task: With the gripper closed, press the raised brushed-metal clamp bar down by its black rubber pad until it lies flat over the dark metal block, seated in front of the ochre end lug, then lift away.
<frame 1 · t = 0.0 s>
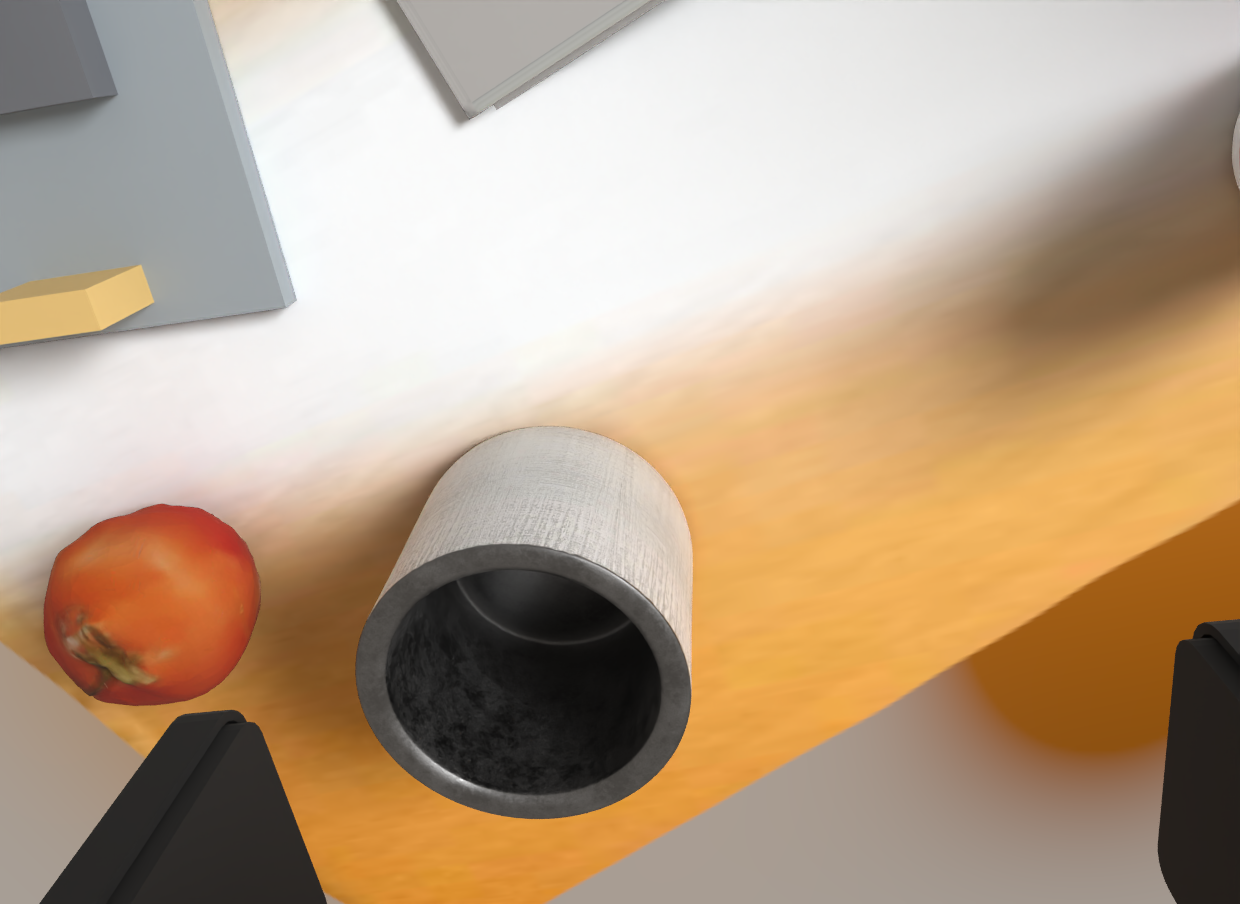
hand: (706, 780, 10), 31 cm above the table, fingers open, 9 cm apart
tomato: (195, 560, 47), on the table
clamp base: (5, 13, 37), on the table
planter: (558, 539, 45), on the table
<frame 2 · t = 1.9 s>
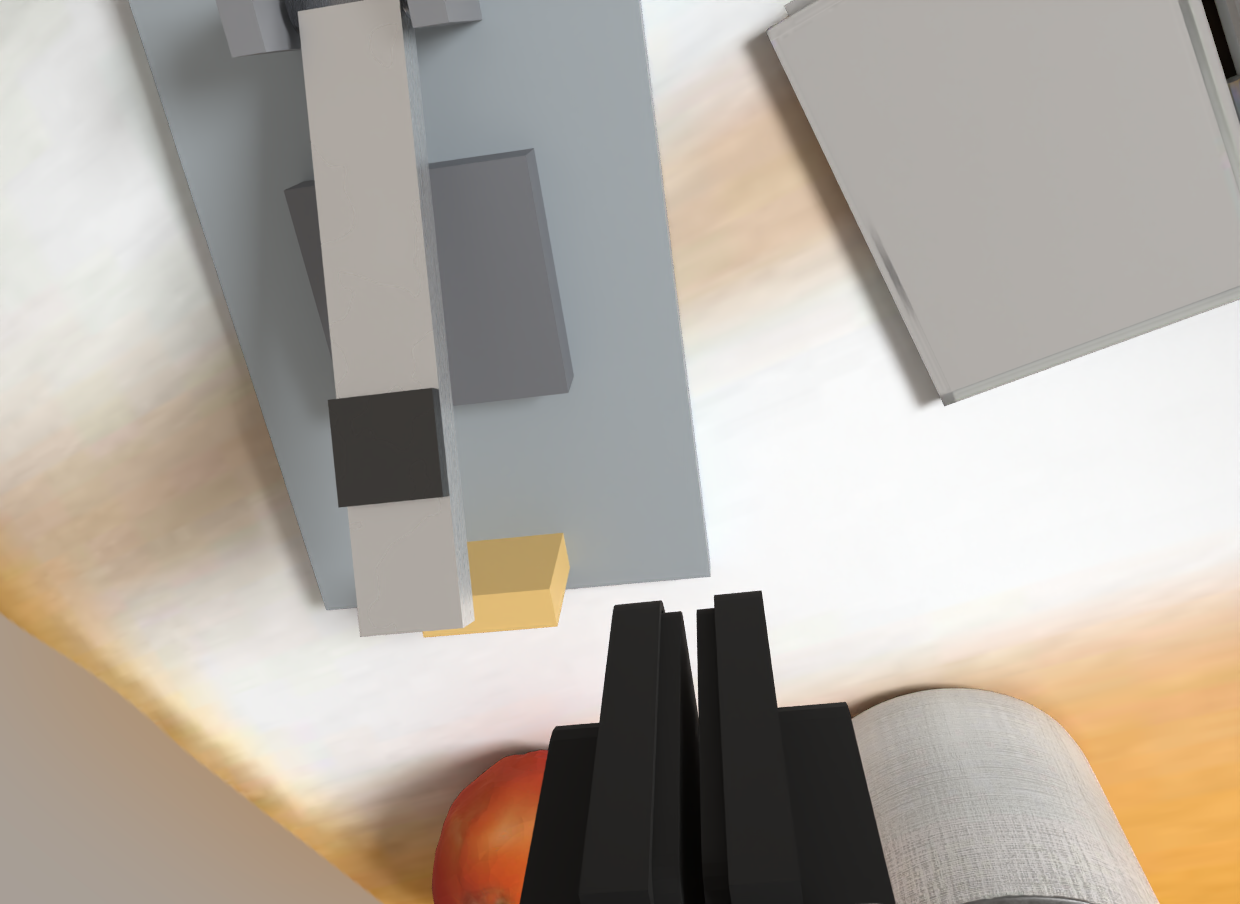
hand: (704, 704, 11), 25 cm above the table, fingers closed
tomato: (546, 791, 45), on the table
clamp base: (453, 286, 35), on the table
gadget: (1182, 46, 31), on the table
planter: (937, 784, 43), on the table
clamp bar: (382, 299, 27), point 8 cm above the table, hinge at 25.0°
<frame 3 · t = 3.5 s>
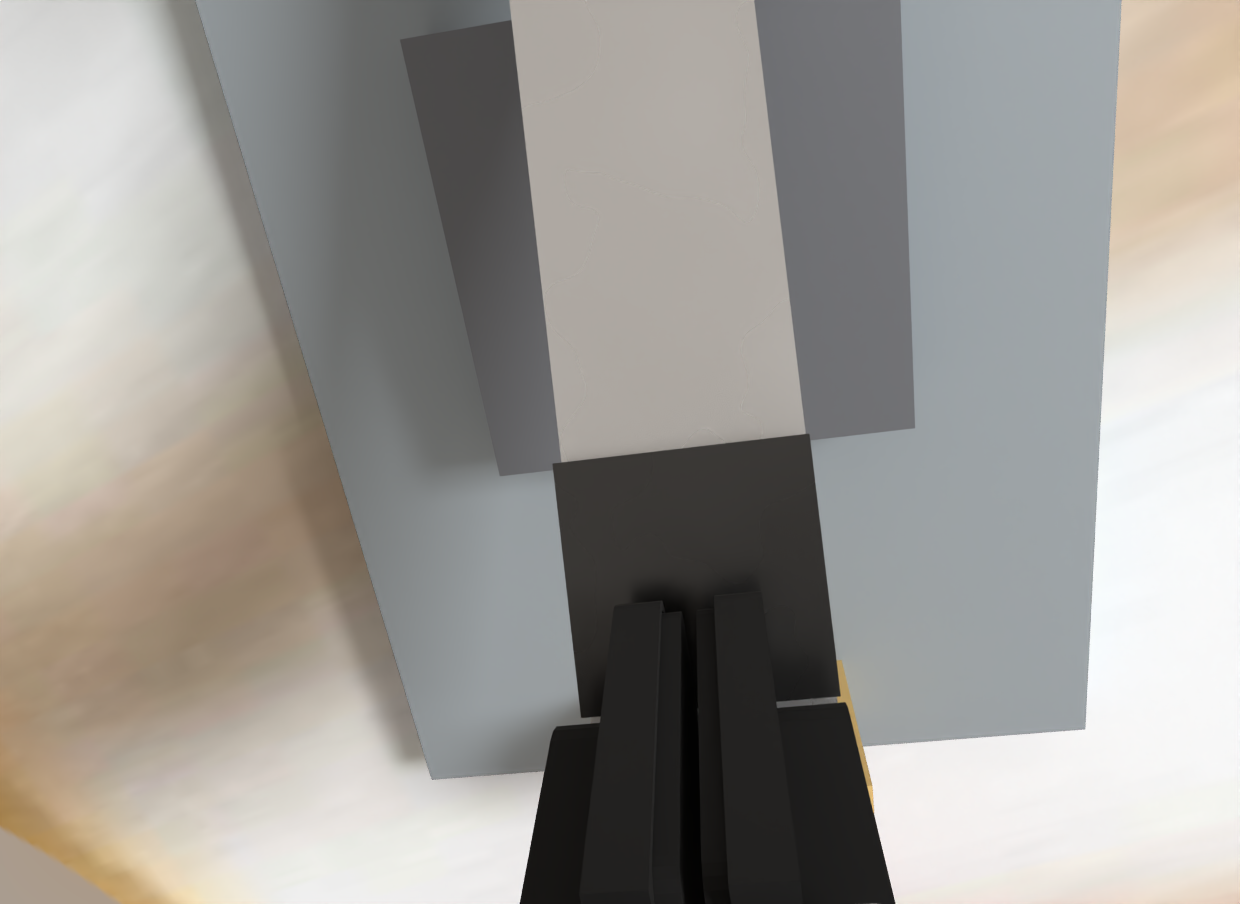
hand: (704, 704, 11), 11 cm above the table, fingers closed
clamp base: (679, 240, 20), on the table
clamp bar: (658, 233, 12), point 8 cm above the table, hinge at 25.0°, touching gripper
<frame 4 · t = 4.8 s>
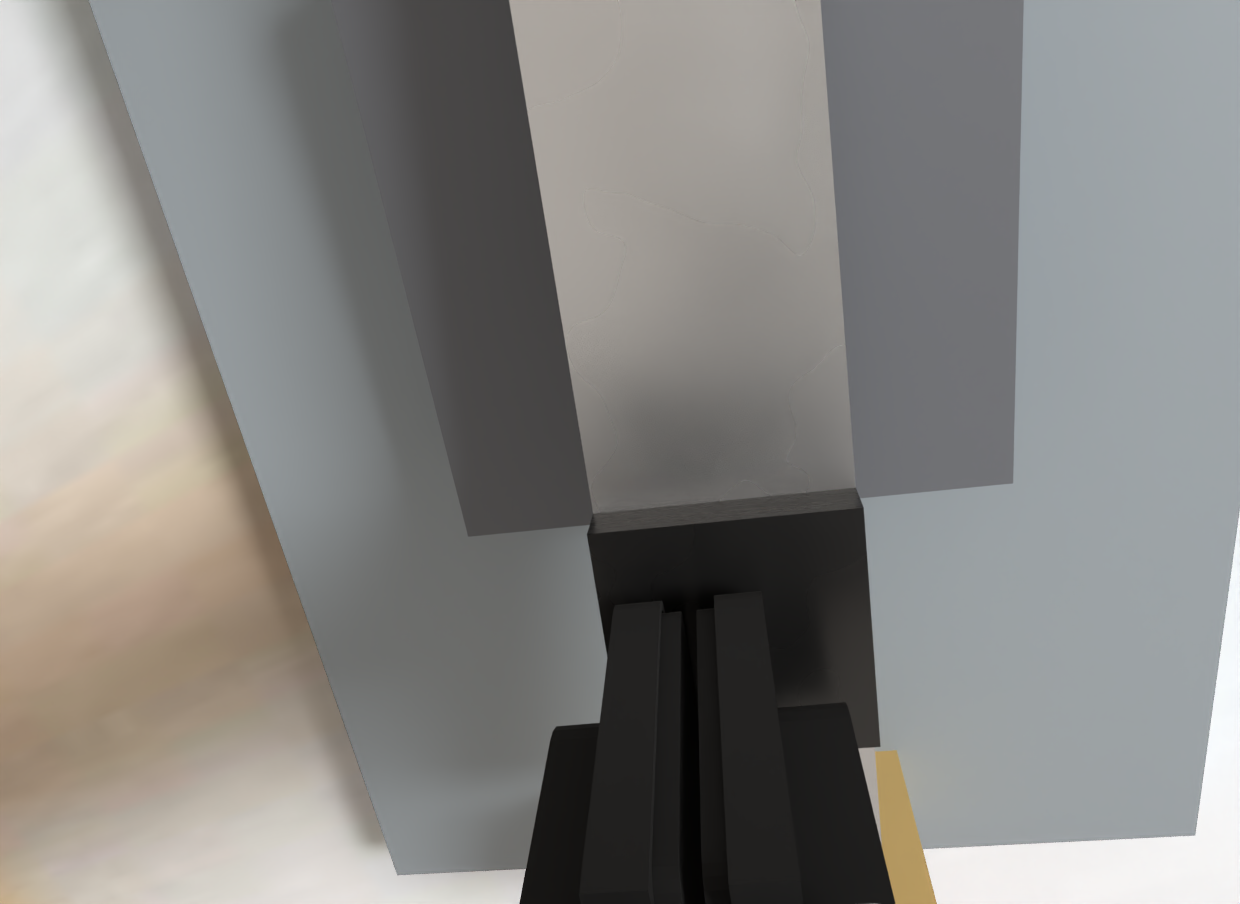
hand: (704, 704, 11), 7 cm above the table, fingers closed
clamp base: (701, 230, 15), on the table
clamp bar: (694, 255, 10), point 5 cm above the table, hinge at 7.1°, touching gripper
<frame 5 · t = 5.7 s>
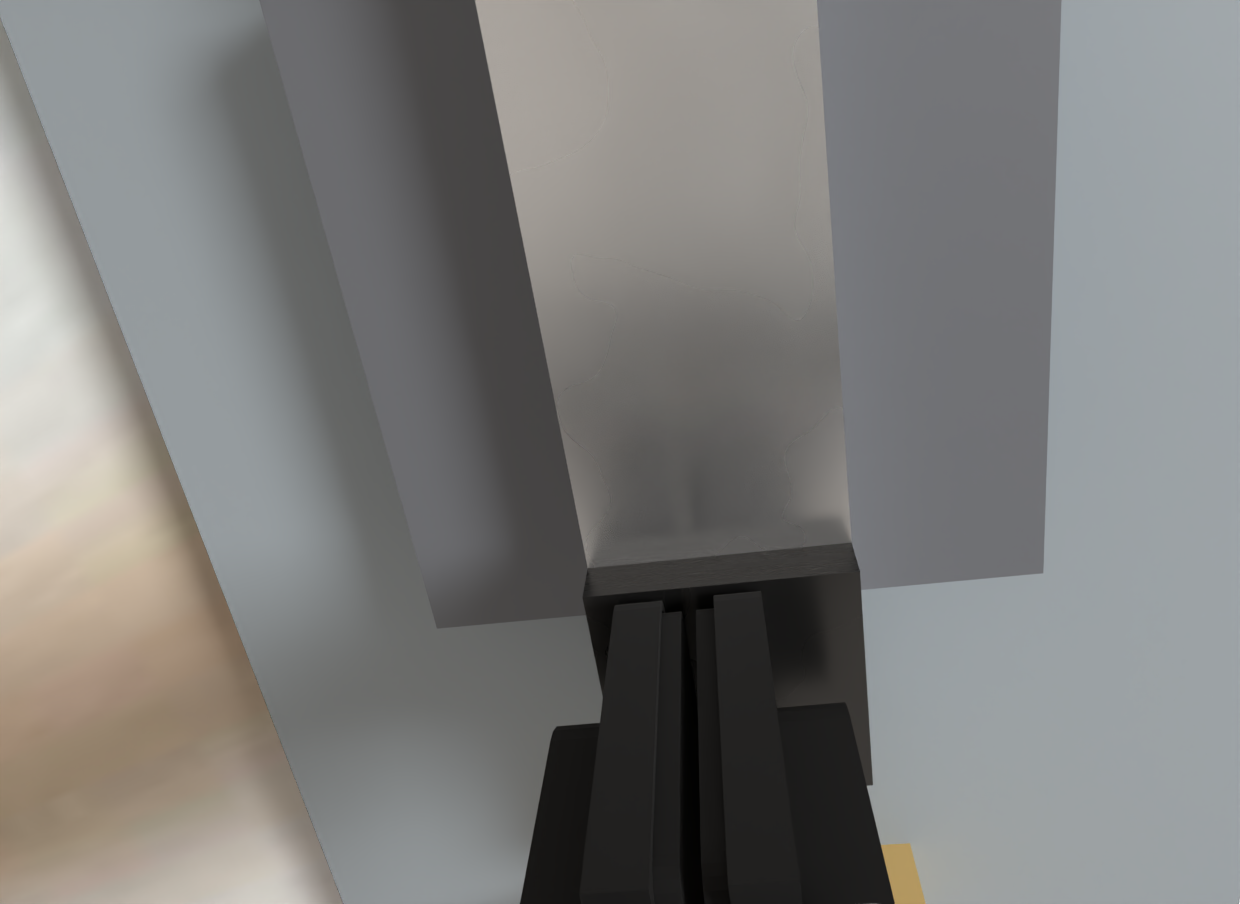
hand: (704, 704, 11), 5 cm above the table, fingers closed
clamp base: (695, 286, 14), on the table
clamp bar: (687, 314, 10), point 4 cm above the table, hinge at -0.1°, touching gripper
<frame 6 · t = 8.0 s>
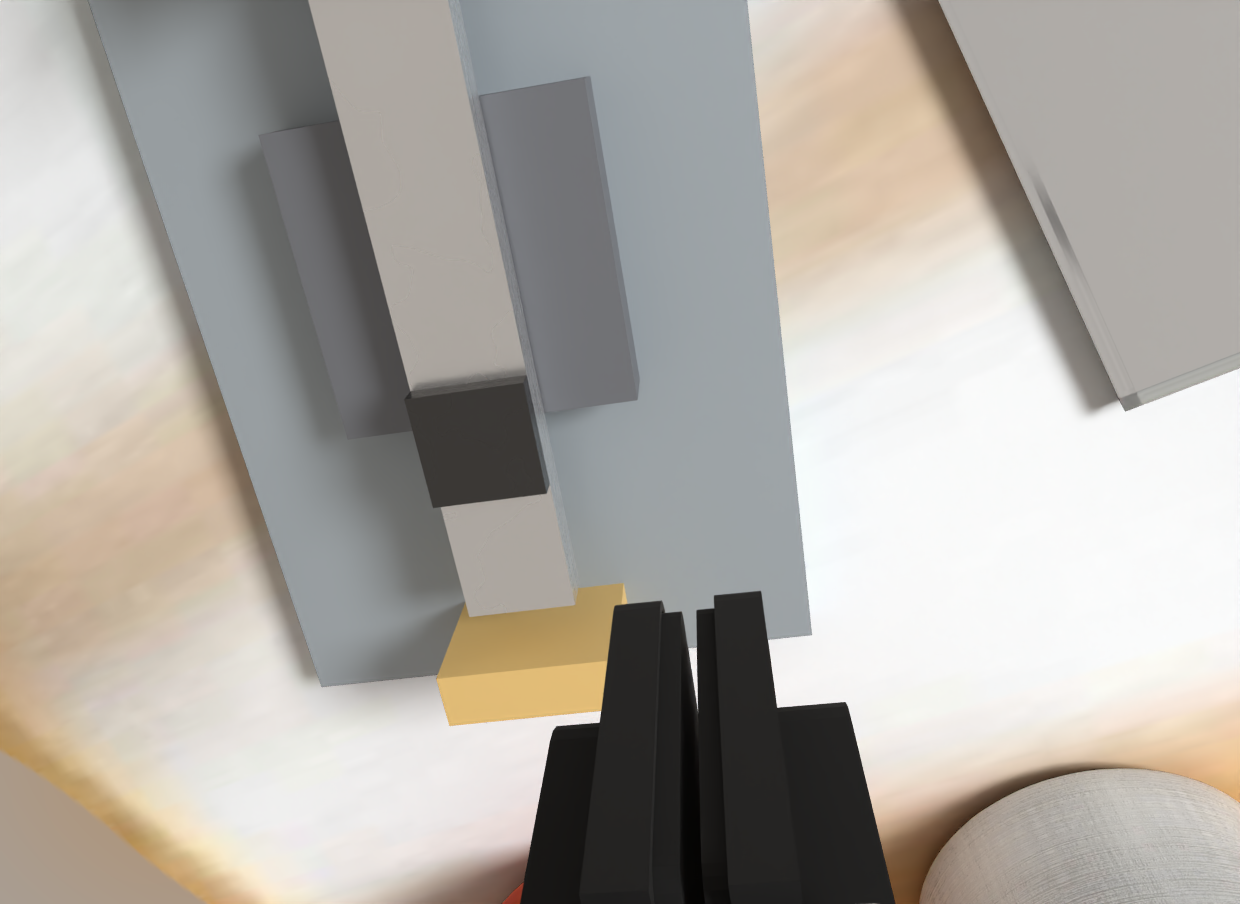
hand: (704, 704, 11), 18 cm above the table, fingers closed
clamp base: (482, 268, 27), on the table
planter: (1085, 885, 35), on the table
clamp bar: (445, 271, 23), point 4 cm above the table, hinge at -0.1°
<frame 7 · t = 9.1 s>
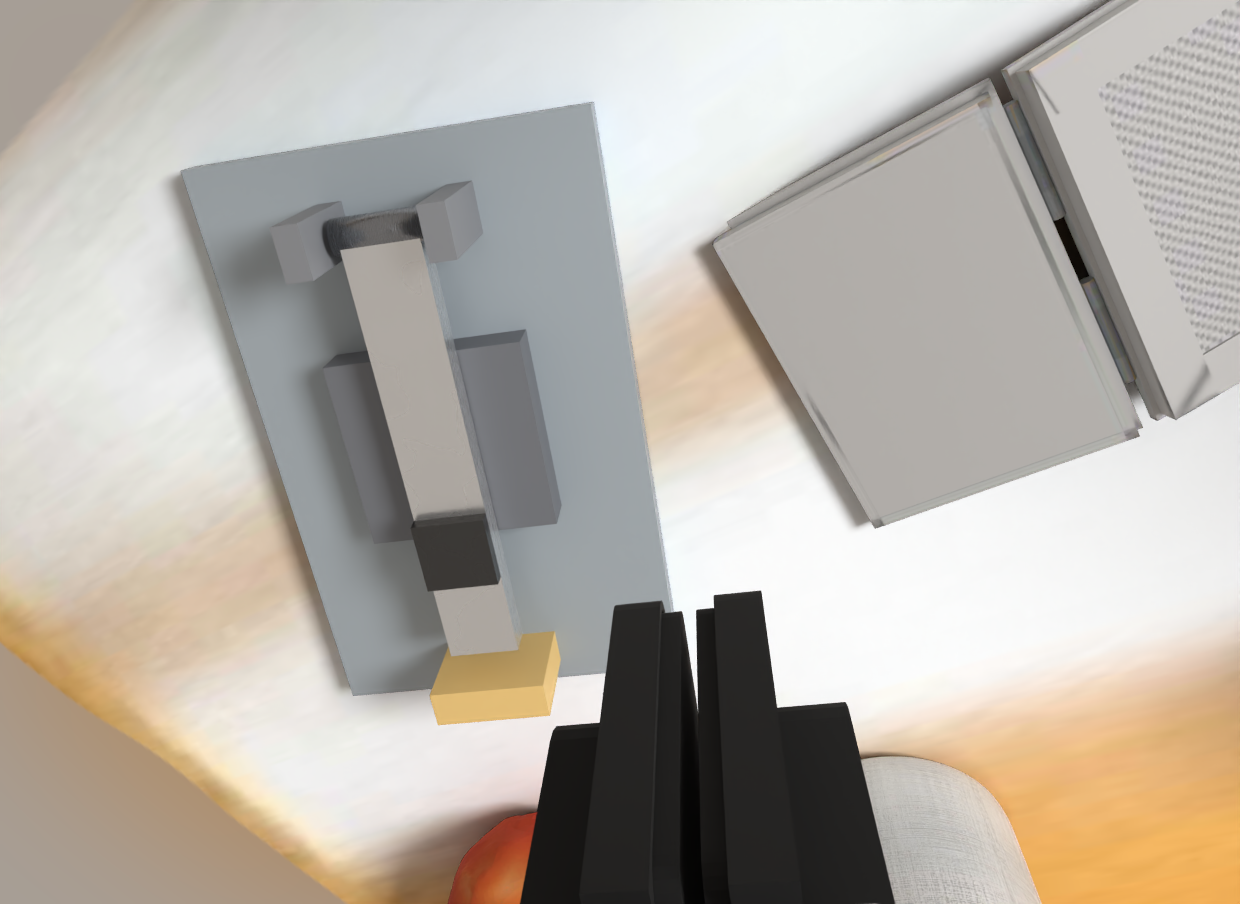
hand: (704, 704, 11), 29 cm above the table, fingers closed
tomato: (543, 845, 52), on the table
clamp base: (460, 431, 42), on the table
gadget: (1052, 243, 38), on the table
planter: (883, 836, 50), on the table
clamp bar: (436, 452, 38), point 4 cm above the table, hinge at -0.1°
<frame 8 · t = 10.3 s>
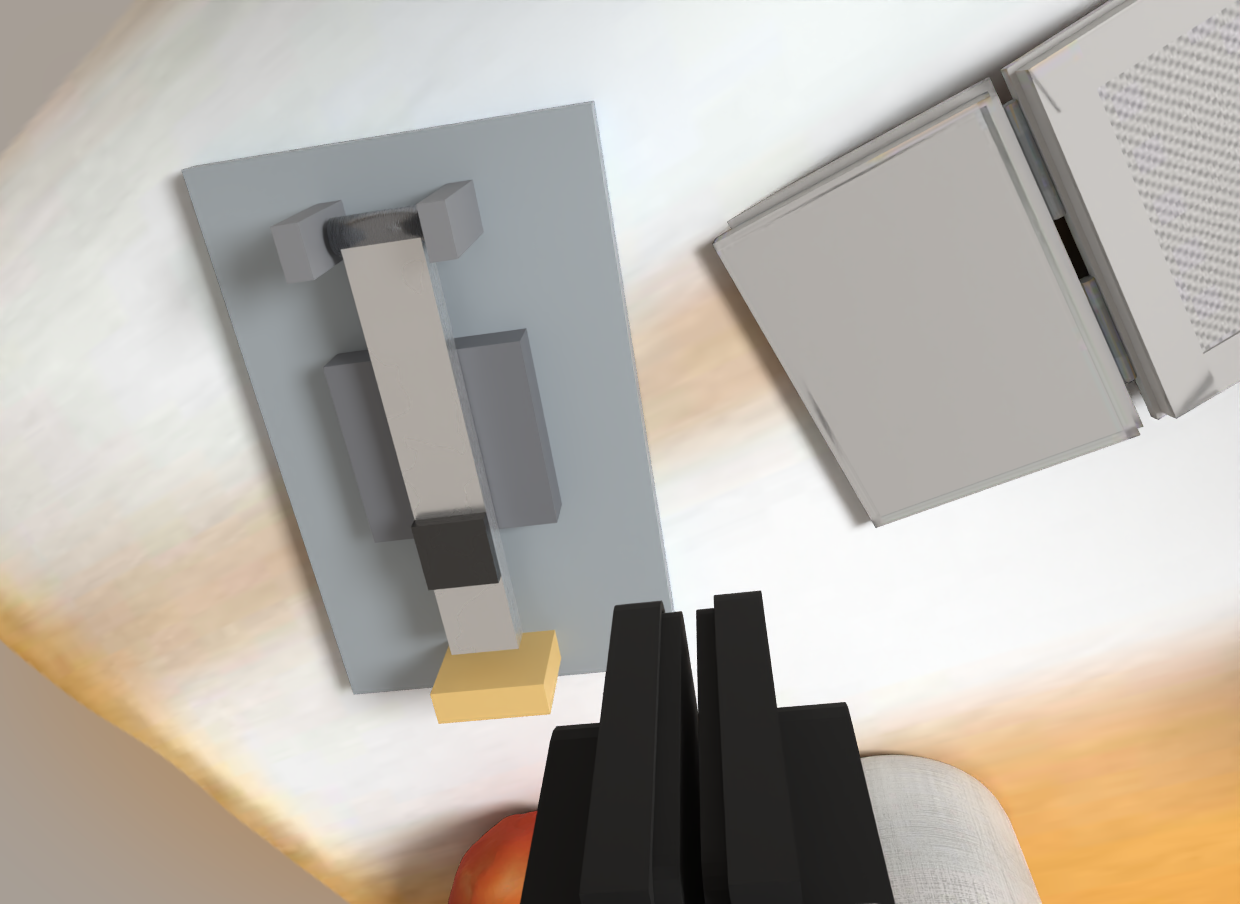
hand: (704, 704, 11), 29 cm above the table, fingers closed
tomato: (544, 844, 52), on the table
clamp base: (461, 430, 42), on the table
gadget: (1052, 242, 38), on the table
planter: (883, 835, 50), on the table
clamp bar: (436, 451, 38), point 4 cm above the table, hinge at -0.1°
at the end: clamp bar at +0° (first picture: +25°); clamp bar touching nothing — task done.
